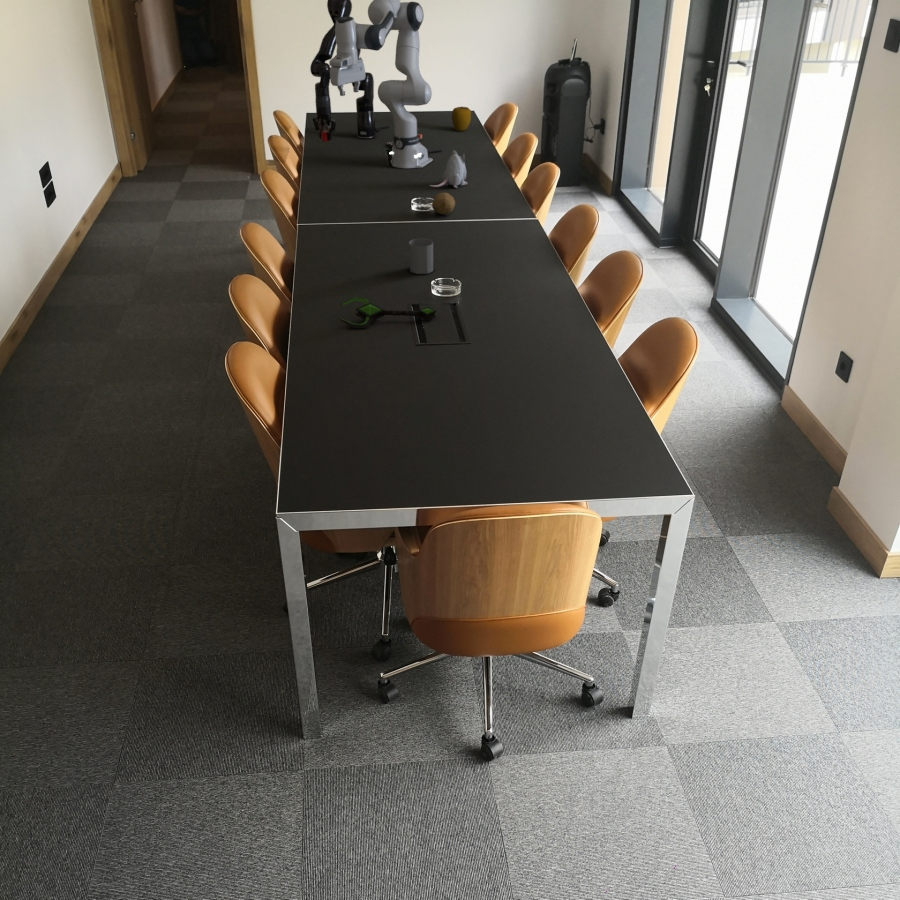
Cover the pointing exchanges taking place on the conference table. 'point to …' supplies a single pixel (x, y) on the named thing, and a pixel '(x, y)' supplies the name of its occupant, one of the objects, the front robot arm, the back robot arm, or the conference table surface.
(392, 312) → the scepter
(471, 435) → the conference table surface
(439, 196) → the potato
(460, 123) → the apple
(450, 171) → the toy
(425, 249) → the cup
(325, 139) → the tin
